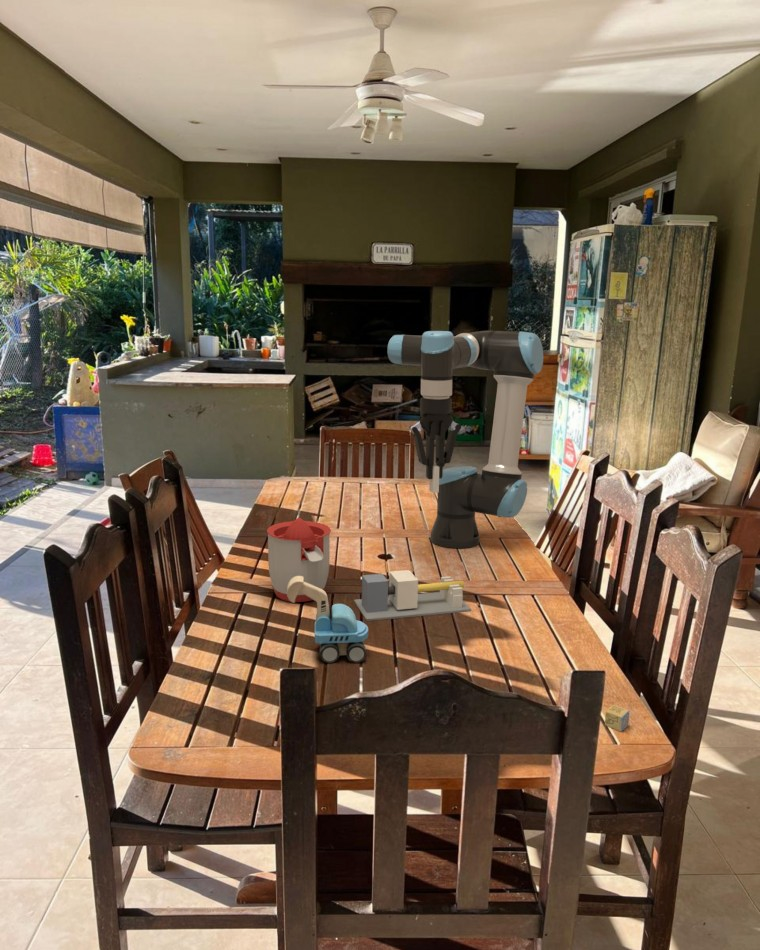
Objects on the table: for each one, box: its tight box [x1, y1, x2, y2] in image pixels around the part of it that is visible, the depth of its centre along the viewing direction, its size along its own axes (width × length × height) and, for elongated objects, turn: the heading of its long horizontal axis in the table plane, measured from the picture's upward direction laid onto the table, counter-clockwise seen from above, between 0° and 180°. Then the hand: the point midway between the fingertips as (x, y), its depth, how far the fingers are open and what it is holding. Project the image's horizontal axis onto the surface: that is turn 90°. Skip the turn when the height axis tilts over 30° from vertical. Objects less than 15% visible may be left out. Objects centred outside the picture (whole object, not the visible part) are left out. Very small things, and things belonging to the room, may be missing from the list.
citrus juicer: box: [266, 517, 332, 604], centre depth 186 cm, size 16×17×20 cm
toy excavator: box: [287, 576, 369, 664], centre depth 156 cm, size 9×17×17 cm, turn 95°
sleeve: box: [388, 569, 419, 610], centre depth 182 cm, size 5×7×7 cm
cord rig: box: [353, 573, 473, 622], centre depth 182 cm, size 26×12×8 cm, turn 106°
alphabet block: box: [604, 704, 631, 732], centre depth 133 cm, size 3×3×3 cm
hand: (433, 491), depth 187 cm, fingers closed
